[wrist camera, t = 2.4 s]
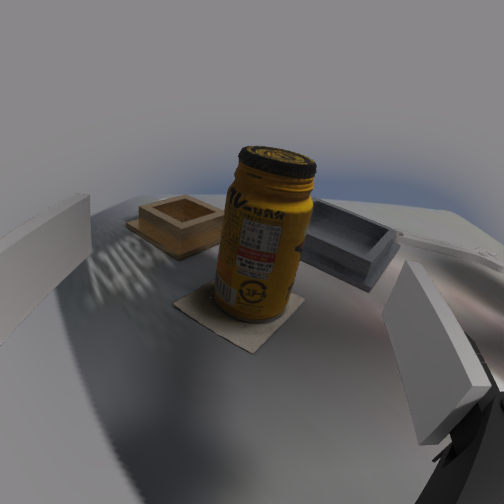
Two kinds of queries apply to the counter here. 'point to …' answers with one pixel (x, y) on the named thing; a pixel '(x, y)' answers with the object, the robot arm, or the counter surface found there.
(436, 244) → the adjustable wrench
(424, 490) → the robot arm
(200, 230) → the small brown compartment box
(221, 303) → the condiment
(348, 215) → the large collar
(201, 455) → the counter surface
